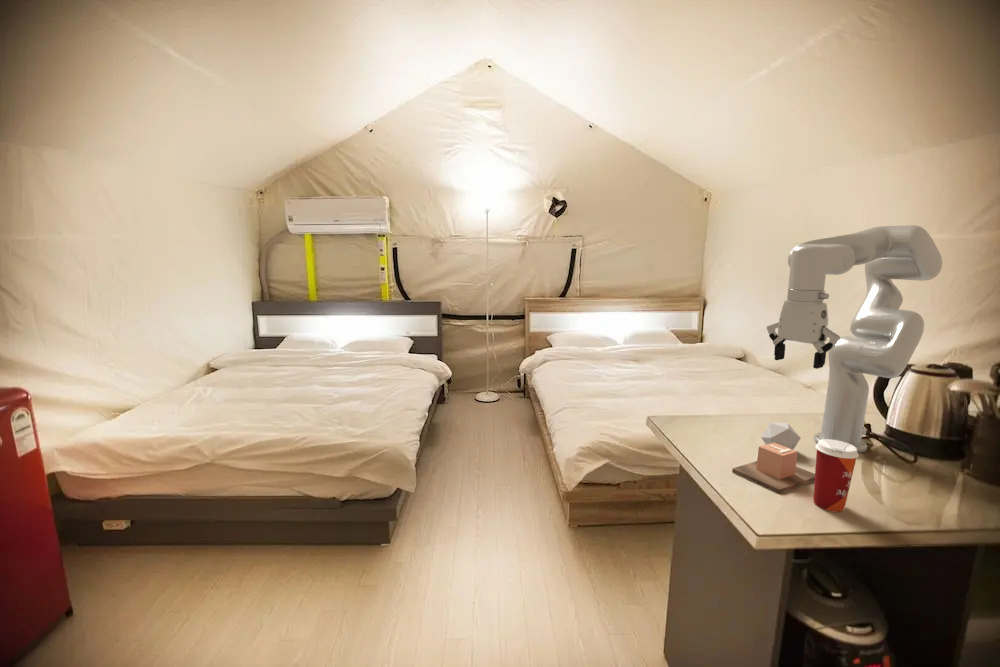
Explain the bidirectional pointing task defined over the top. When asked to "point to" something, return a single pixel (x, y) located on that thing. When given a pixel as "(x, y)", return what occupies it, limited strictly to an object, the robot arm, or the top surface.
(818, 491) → the paper cup
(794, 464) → the lettered cube
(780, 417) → the top surface
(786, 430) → the die
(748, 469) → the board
